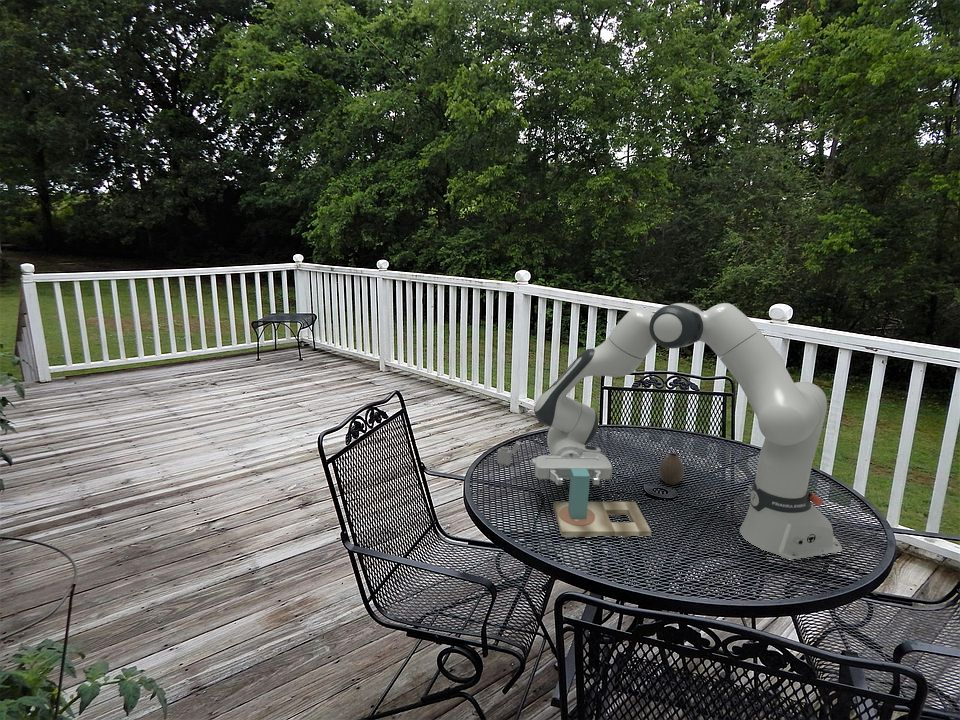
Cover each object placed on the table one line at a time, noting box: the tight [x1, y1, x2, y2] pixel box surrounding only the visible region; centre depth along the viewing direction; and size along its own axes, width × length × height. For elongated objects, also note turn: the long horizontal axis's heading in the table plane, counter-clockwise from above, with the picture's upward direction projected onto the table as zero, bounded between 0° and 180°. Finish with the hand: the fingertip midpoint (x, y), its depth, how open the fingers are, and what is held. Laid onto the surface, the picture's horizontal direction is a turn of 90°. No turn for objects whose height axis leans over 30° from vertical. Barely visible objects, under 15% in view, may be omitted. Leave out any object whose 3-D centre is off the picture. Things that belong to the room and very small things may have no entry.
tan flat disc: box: [559, 506, 595, 526], centre depth 146 cm, size 9×9×1 cm
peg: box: [568, 469, 591, 519], centre depth 144 cm, size 4×4×12 cm
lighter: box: [496, 440, 522, 466], centre depth 176 cm, size 7×2×8 cm, turn 72°
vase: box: [658, 452, 685, 486], centre depth 167 cm, size 7×7×9 cm
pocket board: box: [552, 501, 652, 537], centre depth 146 cm, size 22×14×2 cm, turn 92°
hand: (578, 482), depth 144 cm, fingers open, 8 cm apart
